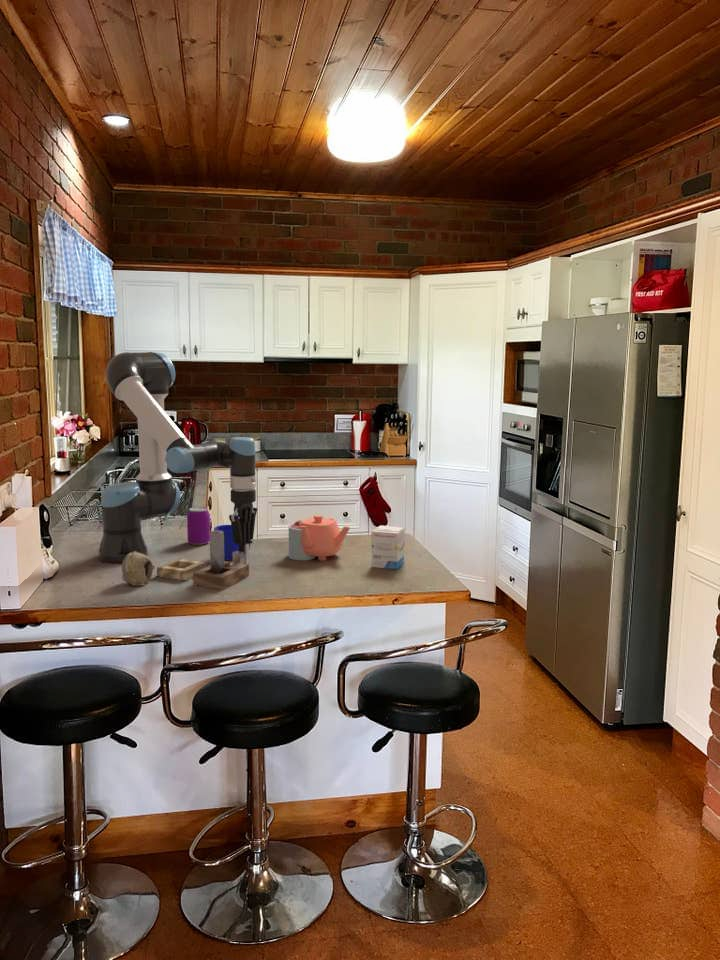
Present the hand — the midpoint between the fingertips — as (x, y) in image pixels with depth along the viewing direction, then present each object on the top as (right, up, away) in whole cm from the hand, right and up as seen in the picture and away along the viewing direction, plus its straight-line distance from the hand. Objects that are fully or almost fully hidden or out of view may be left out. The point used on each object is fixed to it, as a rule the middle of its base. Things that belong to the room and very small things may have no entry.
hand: (244, 564), depth 235 cm
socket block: (-5, -3, -11) cm, 13 cm away
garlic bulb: (-28, -4, -14) cm, 32 cm away
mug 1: (-5, +1, +11) cm, 12 cm away
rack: (-18, -2, -6) cm, 19 cm away
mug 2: (+19, +1, +13) cm, 23 cm away
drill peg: (-6, -4, -13) cm, 15 cm away
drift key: (-2, -2, -6) cm, 6 cm away
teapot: (+22, +1, +14) cm, 26 cm away
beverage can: (-20, +4, +29) cm, 36 cm away
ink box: (+44, -1, +6) cm, 45 cm away
